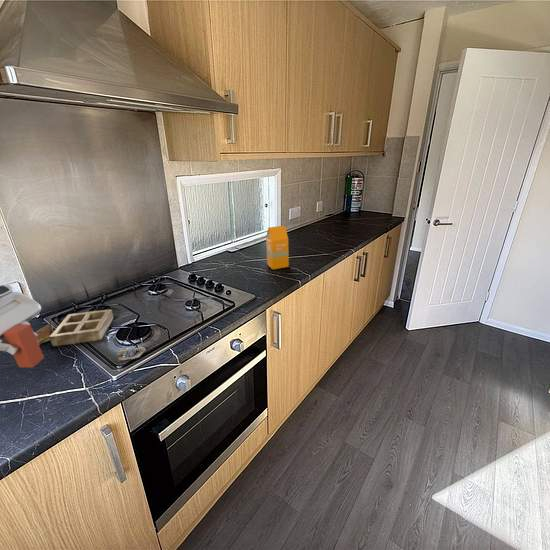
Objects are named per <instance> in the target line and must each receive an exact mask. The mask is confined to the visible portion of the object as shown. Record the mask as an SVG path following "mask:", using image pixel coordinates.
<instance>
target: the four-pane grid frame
mask: <svg viewBox="0 0 550 550" xmlns="http://www.w3.org/2000/svg"><path fill="white" fill-rule="evenodd" d="M113 319H114V313H113V311H112V308H110V309H103V310H102V309H101V310H93V311H92V310H91V311H85V312H77V313H69V314H68V313H67V315H66V317H64V319H63V320H62V321H61V322H60V324H59V325H58V326H57V327H56V328H55V330H53V333H52V334H51V336H50V337H49V338H50V340H49V341H50V342H51V345H52V347H59V346H64V345H65V346H66V345H73V344H81V343H88V342H95V341H101V340H103V337H105V334H106V332H107V331H108V329H109V327H110V325H111V323H112V321H113Z"/></svg>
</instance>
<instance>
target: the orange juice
mask: <svg viewBox="0 0 550 550" xmlns="http://www.w3.org/2000/svg"><path fill="white" fill-rule="evenodd" d="M265 243H266V245H265V246H266V247H265V248H266V265H267V266H268V267H269V268H270V269H271V270H278V269H282V268H283V269H284V268H289V267H290V262H289V261H290V258H289V256H290V253H289V236H288V232H287V229H286V225H279V226H271V227H268V228H267V232H266V236H265Z"/></svg>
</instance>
